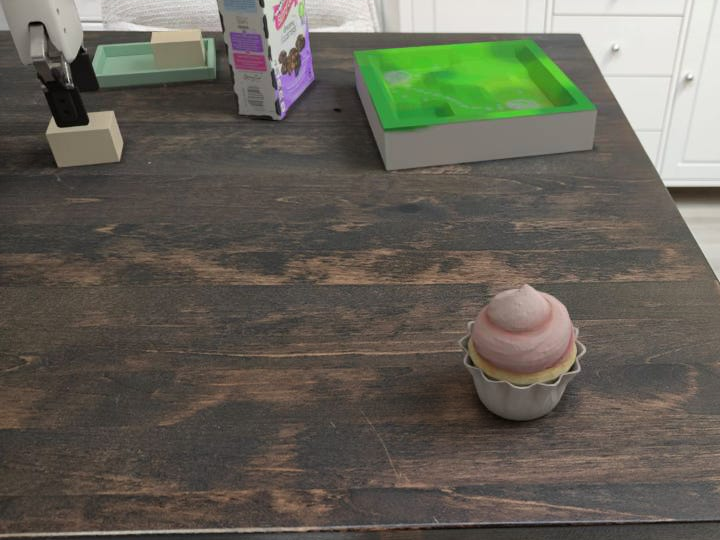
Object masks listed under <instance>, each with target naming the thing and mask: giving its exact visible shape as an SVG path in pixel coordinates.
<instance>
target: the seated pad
mask: <svg viewBox="0 0 720 540" xmlns="http://www.w3.org/2000/svg"><path fill="white" fill-rule="evenodd" d="M203 39H204V38H203V35H202V30H201V28H194V29H192V28H191V29H176V30H159V31H152V32H151V38H150V42H151V43H150V44H151V48H152V52H153V56H154V60H155V63H156V67H157V70H160V69H174V68H188V67H202V66H206V53H205V48H204V43H203Z"/></svg>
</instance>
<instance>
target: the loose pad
mask: <svg viewBox="0 0 720 540" xmlns="http://www.w3.org/2000/svg"><path fill="white" fill-rule="evenodd" d="M87 114H88V117H89V120H90V121H89V124H88V125H86V126H77V127H67V128H59V127H57V125H56V123H55V121H54V118H53V115H51V119H50V121H49V124H48V126H47V128H46V132H45V137H46V140H47V142H48V144H49V147H50V150H51V153H52V155H53V157H54V160H55V163H56V166H57V168H68V167H78V166H79V167H81V166H90V165H98V164H110V163H120V162H121V158H122V152H123V147H124V140H123V138H122V137H123V136H122V134H121V131H120V128H119V124H118V121H117V117H116V114H115V111H114V110H105V111H93V112H87Z"/></svg>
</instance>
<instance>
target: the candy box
mask: <svg viewBox="0 0 720 540" xmlns="http://www.w3.org/2000/svg"><path fill="white" fill-rule="evenodd" d="M216 5H217V10H218V15H219V21H220V26H221V32H222V36H223V41H224V46H225V53H226V57H227V63H228V67H229V72H230V78H231V83H232V88H233V93H234V98H235V103H236V109H237V113H238V115H245V116H243V117H245V118H253V119H254V118H255V119H263V120H272V121H274V120H275V121H281V120H283V119H284V118H285V117H286V115H287V114H288V112H287V111H288V110H289V109H290V108H291V107H292V105H293V104H294V103H295V102H296V101H297V100H298V98H299V97H300V96H301V95H302V94H303V93H304V92H305V90H306V89H307V88H308V87H309V86H310V85H311V84H312V82H313V81H315V79H316V78H315V70H314V69H315V68H314V62H313V55H312V48H311V39H310V32H309V31H310V30H309V23H308V17H307V8H306V1H305V0H216Z"/></svg>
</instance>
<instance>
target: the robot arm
mask: <svg viewBox="0 0 720 540" xmlns="http://www.w3.org/2000/svg"><path fill="white" fill-rule="evenodd" d="M0 5H1V9H2V12H3V15H4V19H5V20H6V23H7V26H8V29H9V32H10V34H11V37H12V40H13V43H14V46H15V49H16V51H17V54H18V57H19V60H20V62H21V63H22V64H23V65H24V66H25V67H27V68H32V67H34V68H35V70H36V77H37V79H38V80H39V85H40V88H41V91H42V92H43V95H44V97H45V100H46V102H47V105H48V108H49V111H50V112H51V116H53V118H54V121H55V123H56V125H57V127H59V128H67V127H77V126H86V125H88V124H89V121H90V120H89V117H88V114H87V113H88V112H87V110H86V106H85V103H84V100H83V98H82V95H81V93H90V92H98V91H99V90H100V88H99V87H100V86H99V83H98V80H97V77H96V74H95V71H94V68H93V65H92V62H93V61H92V60H91V56H90V54H89V53H88V50H87V46H86V43H85V42H84V30H83V25H82V21H81V18H80V15H79V12H78V8H77V5H76V2H75V0H0ZM58 68H60V69H61V71H60V70H59V69H58Z"/></svg>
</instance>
